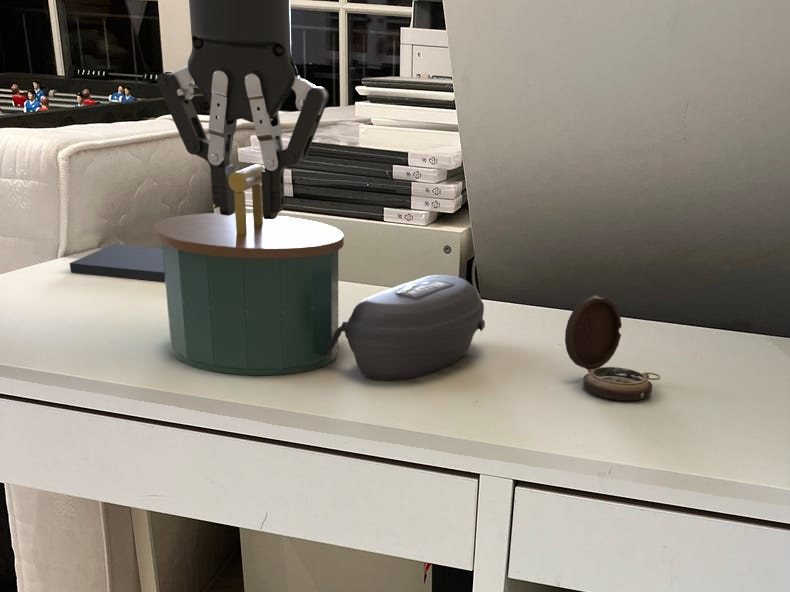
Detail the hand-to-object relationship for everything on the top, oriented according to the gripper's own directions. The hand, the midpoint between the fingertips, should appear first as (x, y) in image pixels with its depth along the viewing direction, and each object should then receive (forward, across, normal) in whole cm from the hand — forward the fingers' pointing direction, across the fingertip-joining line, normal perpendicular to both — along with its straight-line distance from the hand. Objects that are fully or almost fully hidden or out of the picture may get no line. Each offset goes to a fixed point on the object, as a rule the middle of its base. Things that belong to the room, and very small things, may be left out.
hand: (249, 215), depth 82 cm
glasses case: (+12, +14, +2) cm, 18 cm away
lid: (+2, 0, 0) cm, 2 cm away
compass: (+12, +33, 0) cm, 35 cm away
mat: (+11, -21, +28) cm, 37 cm away
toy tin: (+11, 0, 0) cm, 11 cm away
